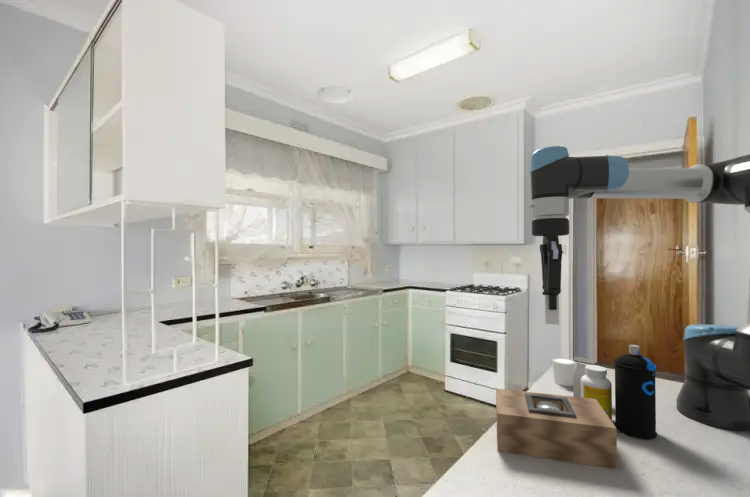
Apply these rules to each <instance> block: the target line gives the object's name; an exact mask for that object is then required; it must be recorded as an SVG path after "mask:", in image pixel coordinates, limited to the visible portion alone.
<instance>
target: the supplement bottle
mask: <svg viewBox="0 0 750 497" xmlns="http://www.w3.org/2000/svg"><path fill="white" fill-rule="evenodd" d="M607 371H608V370H607V368H606V367H604V366H600V365H595V364H586V366H585V372H586V375H584V376H582V378H581V397H582V398H592V399H596V400H597V401H598V403H599V404H600V405H601V407H602V408H603V410H604V411H605V413H606V414H607V415H608V417H609V418H610V420H611V421H612V422H613V399H612V398H613V395H612V388H613V387H612V386H613V385H612V382H611V380H610V379H608V378H607V375H608V372H607Z"/></svg>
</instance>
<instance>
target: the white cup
mask: <svg viewBox="0 0 750 497" xmlns="http://www.w3.org/2000/svg"><path fill="white" fill-rule="evenodd" d="M551 363H552V364H551V365H552V366H551V367H552V374H553V382H554V383H555V384H557V385H560V386H563V387H573V377H574V373H575V369H576V364H577V361H575V360H573V359H570V358H565V357H553V358H552V359H551Z"/></svg>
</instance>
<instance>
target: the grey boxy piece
mask: <svg viewBox="0 0 750 497" xmlns="http://www.w3.org/2000/svg"><path fill="white" fill-rule="evenodd" d="M586 365H587V364H584V363H581V362H577V361H576V368H575V373H574V377H573V386H572V387H573V388H572V389H573V396H572V397H581V378H582V376H584V375H586V372H585V366H586Z"/></svg>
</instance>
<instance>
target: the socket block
mask: <svg viewBox="0 0 750 497" xmlns="http://www.w3.org/2000/svg"><path fill="white" fill-rule="evenodd" d="M540 401H548V402H553V403H556V404H558V405H559V406H560V407H561V411H558V410H550V409H541V408H536V403H537V402H540ZM495 410H496V412H495V413H496V414H495V415H496V416H495V418H496V422H497V423H496V424H495V425H496V444H497V451H498V452H504V453H509V454H517V455H523V456H529V457H536V458H541V459H548V460H555V461H560V462H561V461H562V462H567V463H568V462H569V463H574V464H580V465H586V466H593V467H594V466H595V467H599V468H607V469H614V470H618V459H617V458H618V454H617V453H618V452H617V450H618V448H617V445H618V444H617V442H618V441H617V440H618V439H617V438H618V437H617V436H618V435H617V433H618V432H617V431H618V430H617V429H616V427H615V425H614V423H613V420H612V421H611V420H610V418H609V417H608V415H607V414H606V413H605V411H604V410H603V408H602V407H601V405H600V404H599V403H598V401H597V400H596V399H592V398H582V397H573V396H571V395H562V394H552V393H543V392H534V391H533V392H532V391H524V390H523V391H522V390H516V389H515V390H513V389H505V388H504V389H503V388H495Z"/></svg>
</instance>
